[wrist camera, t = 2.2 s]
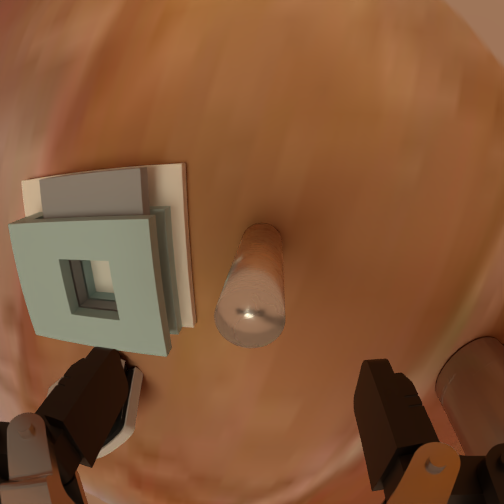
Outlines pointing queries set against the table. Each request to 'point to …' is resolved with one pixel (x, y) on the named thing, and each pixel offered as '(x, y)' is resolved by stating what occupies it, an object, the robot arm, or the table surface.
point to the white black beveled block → (122, 412)
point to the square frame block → (107, 257)
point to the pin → (254, 290)
